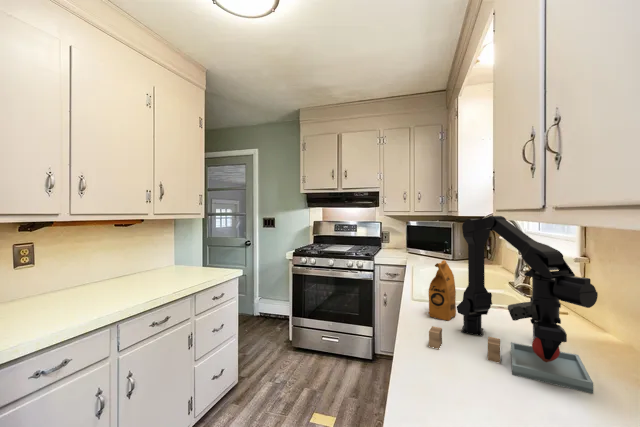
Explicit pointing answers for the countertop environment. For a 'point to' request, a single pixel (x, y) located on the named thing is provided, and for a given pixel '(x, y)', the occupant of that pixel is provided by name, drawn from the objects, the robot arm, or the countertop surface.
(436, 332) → the block
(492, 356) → the block
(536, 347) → the onion
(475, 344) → the countertop surface
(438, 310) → the coffee package
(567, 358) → the tray
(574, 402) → the countertop surface
